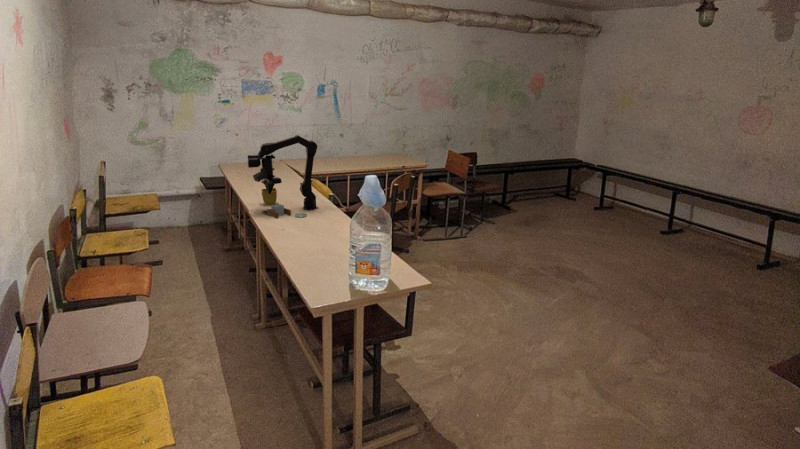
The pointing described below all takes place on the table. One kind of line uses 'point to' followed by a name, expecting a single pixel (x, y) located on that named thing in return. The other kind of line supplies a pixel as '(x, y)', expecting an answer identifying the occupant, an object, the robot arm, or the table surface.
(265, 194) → the flower pot
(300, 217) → the coaster
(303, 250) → the table surface
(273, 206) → the block
